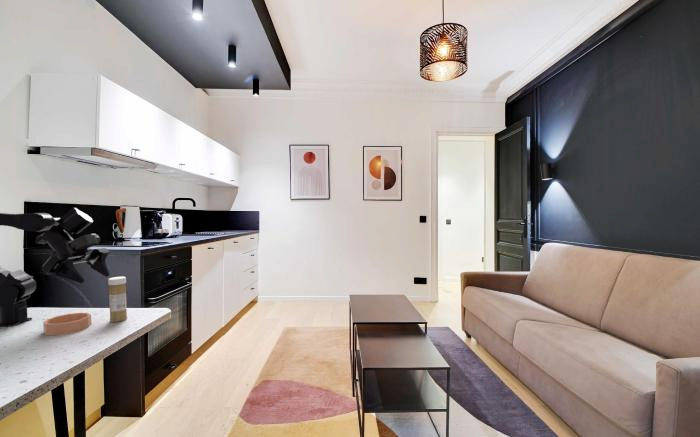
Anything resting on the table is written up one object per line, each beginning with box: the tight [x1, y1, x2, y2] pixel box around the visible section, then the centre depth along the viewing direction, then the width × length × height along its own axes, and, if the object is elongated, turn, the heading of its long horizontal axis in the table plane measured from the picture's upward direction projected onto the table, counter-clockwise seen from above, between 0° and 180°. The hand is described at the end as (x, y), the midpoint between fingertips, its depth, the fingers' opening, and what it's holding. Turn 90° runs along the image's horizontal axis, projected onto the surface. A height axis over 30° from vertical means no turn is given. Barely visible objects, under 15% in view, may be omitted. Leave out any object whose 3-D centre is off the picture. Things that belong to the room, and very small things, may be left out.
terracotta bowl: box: [43, 312, 92, 336], centre depth 96 cm, size 10×10×3 cm
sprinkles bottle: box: [107, 276, 128, 323], centre depth 103 cm, size 5×5×13 cm
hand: (96, 278), depth 104 cm, fingers open, 9 cm apart
